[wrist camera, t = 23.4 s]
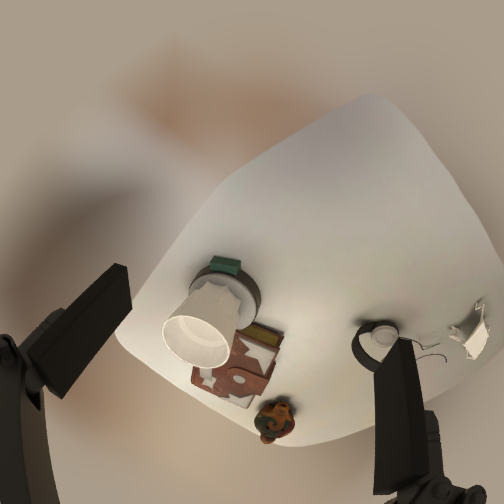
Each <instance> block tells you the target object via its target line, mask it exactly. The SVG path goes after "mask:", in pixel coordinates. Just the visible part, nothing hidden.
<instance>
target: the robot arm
mask: <svg viewBox="0 0 504 504" xmlns="http://www.w3.org/2000/svg"><path fill="white" fill-rule="evenodd" d="M131 310H132V302H131V296H130V287H129V280H128V271H127V267H126V266H123V265H120V264H117V263H114V264H113V265H112V266H111V267H110V268H109V269H108V270H107V271H105V272H104V273H103V274H102V275H101V276H100V277H99V278H98V279H97V280H96V281H95V282H94V283H93V284H92V285H91V286H90V287H89V288H87V289H86V290H85V291H84V292H83V293H82V294H81V295H80V296H79V297H78V298H77V299H76V300H75V301H74V302H73V303H72V304H71V305H70V306H69V307H68V308H67V309H66V310H65V309H62V308H59V309H58V310H56V311H54V312H52V313H51V314H50V315H49V316H48V317H47V318H46V319H45V320H44V322H42V323H41V324H40V325H39V327H37V328H36V329H35V330H34V331H33V332H32V333H31V334H30V335H29V336H28V337H27V338H26V340H25V341H23V343H22V344H21V345H20V346H19V347H18V348H17V346H16V344H15V342H14V340H13V339H12V337H11V336H9V335H8V334H1V335H0V502H1V504H60V501H59V497H58V494H57V489H56V485H55V480H54V476H53V470H52V465H51V459H50V453H49V446H48V439H47V430H46V420H45V408H44V392H43V389H42V387H43V386H44V385H46V386H47V388H48V389H49V391H50V392H51V393H53V394H54V395H56V396H57V397H59V398H60V399H63V397H64V396H65V395H66V393H67V392H68V391H69V389H70V388H71V386H72V385H73V384H74V382H75V381H76V380H77V378H78V377H79V376H80V374H81V373H82V372H83V370H84V369H85V368H86V367H87V365H88V364H89V363H90V361H91V360H92V359H93V357H94V356H95V355H96V354H97V352H98V351H99V350H100V348H101V347H102V346H103V345H104V343H105V342H106V341H107V339H108V338H109V337H110V336H111V334H112V333H113V332H114V331H115V330H116V328H117V327H118V326H119V325H120V323H121V322H122V321H123V320H124V318H125V317H126V316H127V315H128V314H129V312H130V311H131ZM374 392H375V470H374V488H373V495H390V494H392V493H394V492H396V491H397V497H395V498H393V499H391V500H388V501H387V502H386V503H384V504H389V503H390V504H485V503H486V498H487V495H486V491H485V489H484V488H483V487H482V486H480V485H475V486H472V487H471V488H469V489H464V488H461V487H457V486H454V485H452V483H451V481H450V480H449V479H448V478H447V477H445V476H444V471H443V460H442V449H441V442H440V434H439V425H438V420H437V418H436V416H435V414H434V412H433V411H428V410H424V405H423V398H422V392H421V386H420V380H419V374H418V369H417V364H416V359H415V354H414V350H413V345H412V341H411V340H406V339H401V338H397V340H396V342H395V343H394V345H393V346H392V348H391V349H390V351H389V352H388V354H387V355H386V357H385V358H384V360H383V361H382V363H381V364H380V366H379V367H378V369H377V370H376V371H375V373H374Z"/></svg>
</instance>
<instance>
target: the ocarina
mask: <svg viewBox="0 0 504 504" xmlns="http://www.w3.org/2000/svg"><path fill="white" fill-rule="evenodd" d="M254 423H255V427H256V428H257V430H258V431H259V432H260V433H261V436H260V438H261V441H262V442H263V443H264V444H270V443H272V442H274V441H275V439H276V438H281V437H284V436H286V435H288V434H289V433H290V432H291V431H292V430H293V429H294V426H295V421H294V419H293V416H292V413H291V410H289V406H288V405H287V403H284V402H279V403H277V404H276V406H275V407H274V408H273V407H272V406H271V405H269V404H268V405H266V406H264V407H263V408H262V409H261V411H260V412H259V413H258V414H257V416H256V417H255V419H254Z"/></svg>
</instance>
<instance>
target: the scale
mask: <svg viewBox="0 0 504 504" xmlns="http://www.w3.org/2000/svg"><path fill="white" fill-rule="evenodd" d="M240 263H241V261H239V260H233V259H228V258H222V257H217V256H214V257H213V258H212V260H211V261H210V266H208V267H206V268H204V269H202V270H201V271H200V272H199V273H198V275H197V276H196V277H195V279H194V280H193V282H192V283H191V285H190V288H189V295H190V294H191V293H192V292H193V291H194V290H196V289H200V288H202V287H203V286H204V285H205V284H206V282H207V281H209V282H210V283H212V284H215V285H220V286H226V285H228V287H229V290H230V291H231V292H232V294H233V295H234V296H235V297H236V298H238V299H240V300H241V303H240V306H239V309H238V313H239V315H240V317H239V321H238V324H237V327H236V329H238V330H241V329H244V328H246V327H247V326H249V325H250V324H251V323H252V322H253V321H254V319H255V318H256V315H257V313H258V310H259V307H260V303H261V295H260V291H259V288H258V286H257V285H256V283H255V282H254V280H253V279H252V278H251V277H250V276H249V275H248V274H246V273H245V272H243V271H242V270H240Z"/></svg>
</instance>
